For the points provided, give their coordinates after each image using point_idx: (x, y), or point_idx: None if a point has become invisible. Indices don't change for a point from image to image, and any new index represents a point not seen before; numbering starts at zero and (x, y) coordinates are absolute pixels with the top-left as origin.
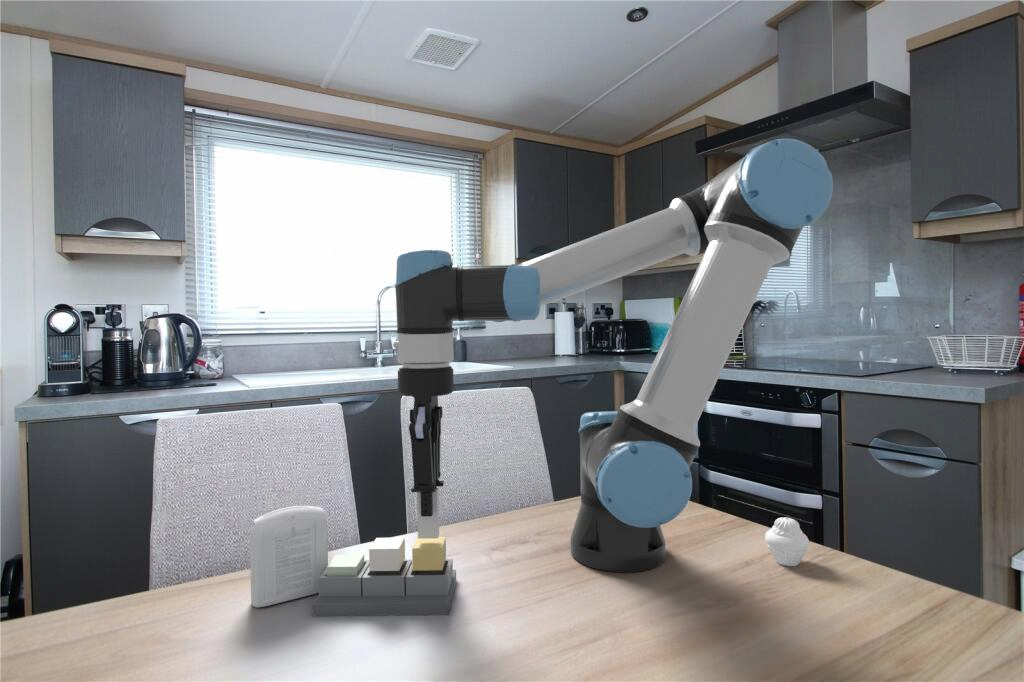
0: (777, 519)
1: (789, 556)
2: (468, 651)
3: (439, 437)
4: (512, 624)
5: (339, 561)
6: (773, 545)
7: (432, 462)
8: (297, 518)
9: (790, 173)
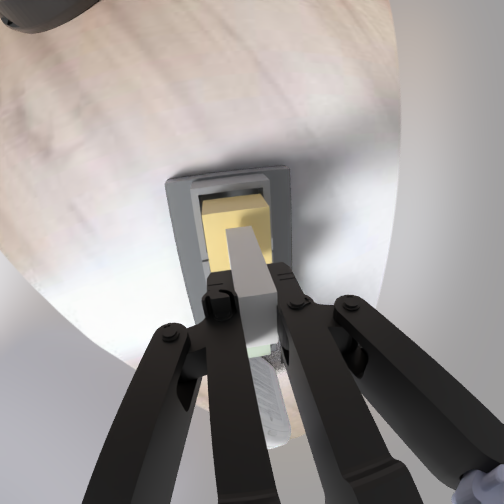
0: None
1: None
2: (367, 128)
3: (128, 482)
4: (307, 72)
5: (252, 349)
6: None
7: (403, 370)
8: (266, 428)
9: None
